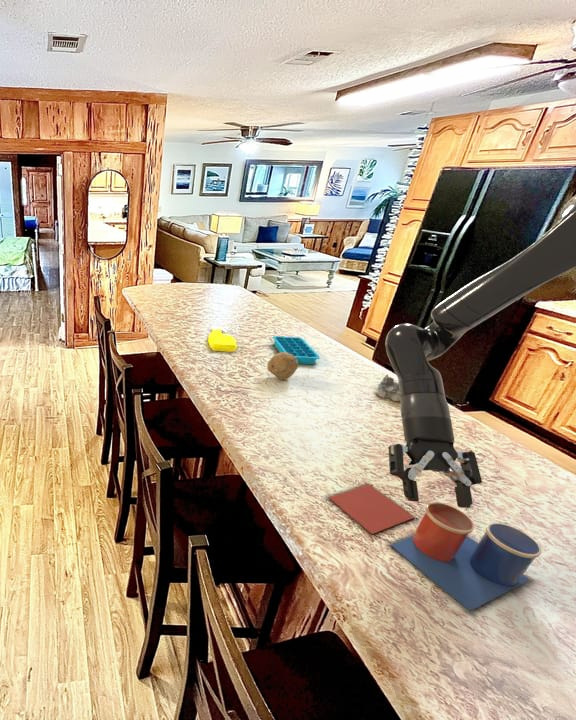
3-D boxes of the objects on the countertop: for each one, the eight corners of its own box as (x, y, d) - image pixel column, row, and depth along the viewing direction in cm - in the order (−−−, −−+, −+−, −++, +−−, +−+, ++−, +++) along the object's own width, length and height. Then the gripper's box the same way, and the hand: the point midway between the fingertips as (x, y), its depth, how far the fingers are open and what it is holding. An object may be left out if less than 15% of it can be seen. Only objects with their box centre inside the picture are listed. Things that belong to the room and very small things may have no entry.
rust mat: (368, 484, 88) (368, 484, 88) (414, 518, 79) (414, 517, 79) (328, 498, 84) (328, 497, 84) (371, 534, 75) (372, 533, 75)
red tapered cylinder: (426, 528, 77) (441, 498, 73) (464, 556, 71) (483, 525, 67) (402, 538, 75) (418, 507, 71) (440, 567, 69) (458, 536, 65)
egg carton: (382, 384, 130) (386, 373, 128) (409, 392, 125) (414, 381, 123) (372, 394, 123) (377, 383, 122) (401, 404, 118) (405, 392, 117)
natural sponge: (264, 382, 131) (270, 355, 126) (264, 371, 138) (270, 345, 134) (294, 387, 128) (301, 360, 123) (292, 375, 135) (299, 349, 131)
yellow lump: (209, 350, 154) (205, 329, 176) (237, 352, 152) (230, 331, 174) (210, 343, 153) (205, 323, 175) (239, 345, 151) (231, 325, 173)
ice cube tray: (299, 344, 160) (301, 337, 159) (319, 365, 142) (321, 358, 141) (270, 342, 162) (272, 336, 160) (286, 363, 144) (288, 356, 142)
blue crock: (482, 549, 72) (501, 518, 69) (527, 580, 67) (551, 548, 63) (459, 559, 70) (478, 528, 67) (503, 593, 65) (527, 560, 61)
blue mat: (446, 522, 78) (446, 522, 78) (529, 580, 67) (529, 579, 67) (390, 545, 73) (390, 544, 73) (469, 611, 62) (470, 610, 62)
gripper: (397, 411, 75) (409, 499, 70) (481, 418, 73) (499, 510, 67) (376, 418, 82) (385, 499, 77) (451, 425, 80) (466, 509, 74)
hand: (438, 504), depth 72 cm, fingers open, 8 cm apart
